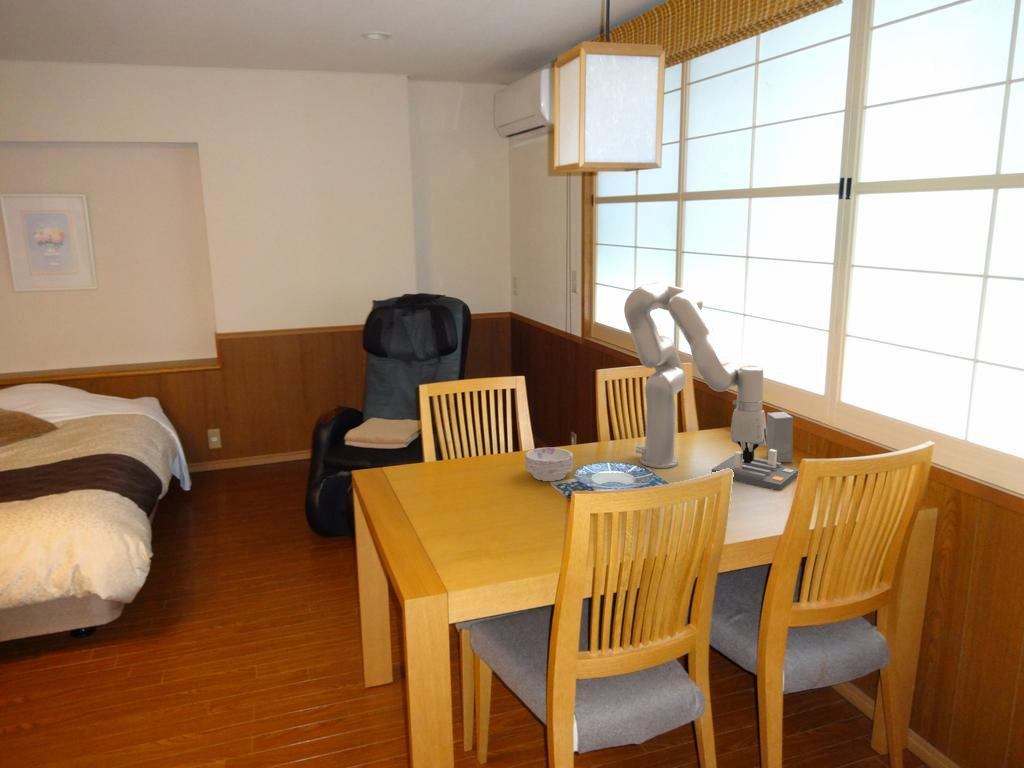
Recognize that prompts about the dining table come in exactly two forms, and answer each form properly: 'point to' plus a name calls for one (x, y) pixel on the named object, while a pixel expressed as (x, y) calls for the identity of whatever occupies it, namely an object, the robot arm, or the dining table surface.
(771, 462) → the breaker handle
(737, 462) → the block
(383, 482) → the dining table surface
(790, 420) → the skincare box
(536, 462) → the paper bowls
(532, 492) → the dining table surface
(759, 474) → the breaker panel
